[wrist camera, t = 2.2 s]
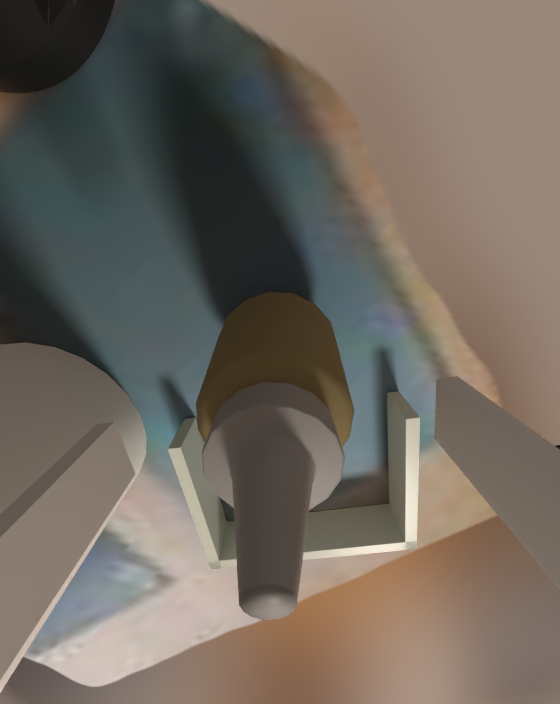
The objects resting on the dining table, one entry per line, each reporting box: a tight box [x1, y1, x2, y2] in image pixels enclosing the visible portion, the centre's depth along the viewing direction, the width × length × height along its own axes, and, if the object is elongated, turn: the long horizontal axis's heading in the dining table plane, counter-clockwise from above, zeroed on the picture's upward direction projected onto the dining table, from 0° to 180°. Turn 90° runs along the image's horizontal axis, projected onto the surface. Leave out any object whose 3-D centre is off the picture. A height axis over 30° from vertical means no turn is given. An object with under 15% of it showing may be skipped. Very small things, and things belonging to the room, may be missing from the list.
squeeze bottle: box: [196, 292, 354, 620], centre depth 14 cm, size 8×8×18 cm
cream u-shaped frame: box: [168, 391, 420, 569], centre depth 25 cm, size 14×19×4 cm
